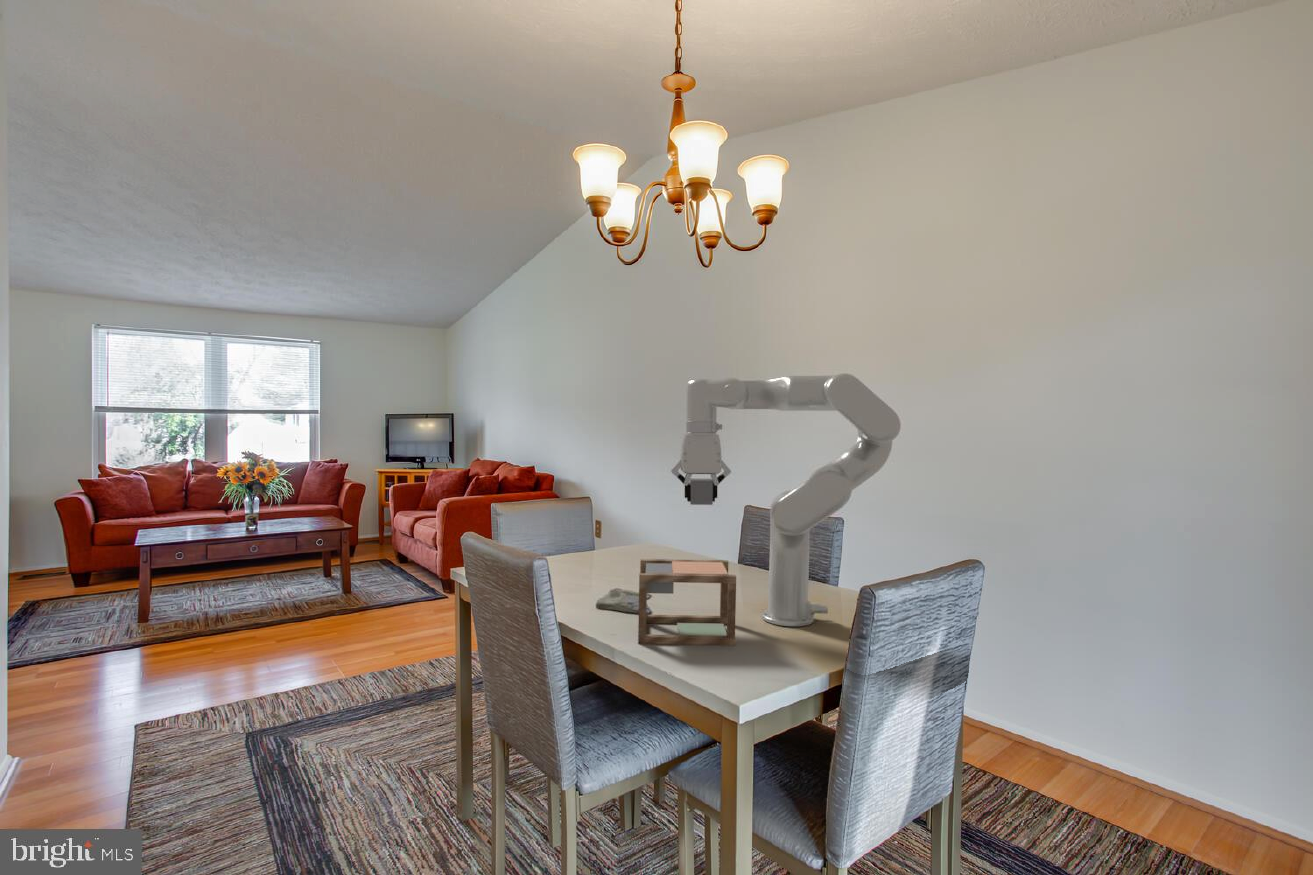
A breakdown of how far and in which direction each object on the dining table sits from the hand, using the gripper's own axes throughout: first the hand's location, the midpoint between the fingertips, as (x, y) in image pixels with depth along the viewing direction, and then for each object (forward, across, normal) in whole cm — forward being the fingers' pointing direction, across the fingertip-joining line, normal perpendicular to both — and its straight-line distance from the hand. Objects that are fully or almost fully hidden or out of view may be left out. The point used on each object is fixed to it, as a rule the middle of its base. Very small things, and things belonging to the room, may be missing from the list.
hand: (700, 500), depth 163 cm
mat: (+29, +1, +15) cm, 32 cm away
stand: (+29, +5, +15) cm, 33 cm away
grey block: (+1, 0, 0) cm, 1 cm away
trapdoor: (+18, +5, +15) cm, 24 cm away
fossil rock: (+29, +18, -8) cm, 35 cm away
